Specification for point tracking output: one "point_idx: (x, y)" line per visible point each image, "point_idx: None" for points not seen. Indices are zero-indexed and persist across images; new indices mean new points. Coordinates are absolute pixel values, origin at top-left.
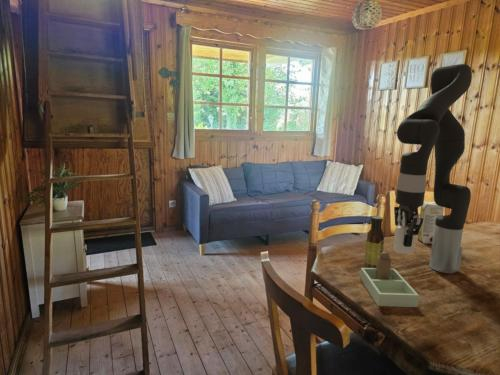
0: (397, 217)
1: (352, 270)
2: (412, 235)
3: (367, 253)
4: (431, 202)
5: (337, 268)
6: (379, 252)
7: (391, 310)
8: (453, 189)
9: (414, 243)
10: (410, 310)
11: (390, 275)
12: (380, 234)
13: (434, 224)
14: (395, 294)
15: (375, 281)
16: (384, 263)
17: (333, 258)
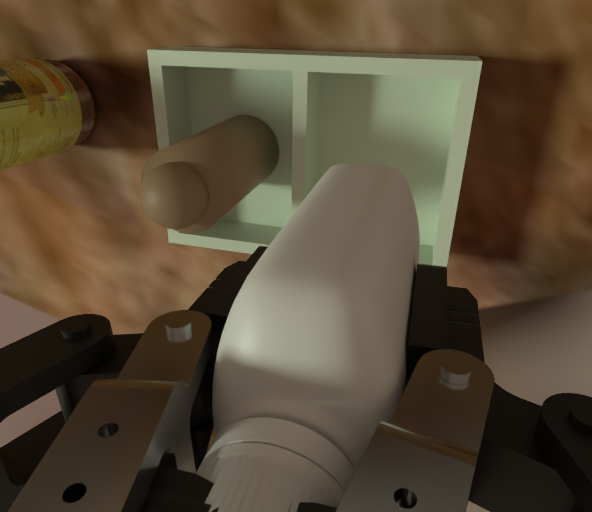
0: (16, 496)
1: (127, 223)
2: (493, 390)
3: (21, 163)
4: None
5: (122, 280)
6: (15, 107)
7: (488, 208)
8: None
9: (390, 201)
10: (502, 112)
11: (181, 75)
12: None
13: None
14: (456, 200)
15: None
16: (229, 202)
17: (29, 259)
